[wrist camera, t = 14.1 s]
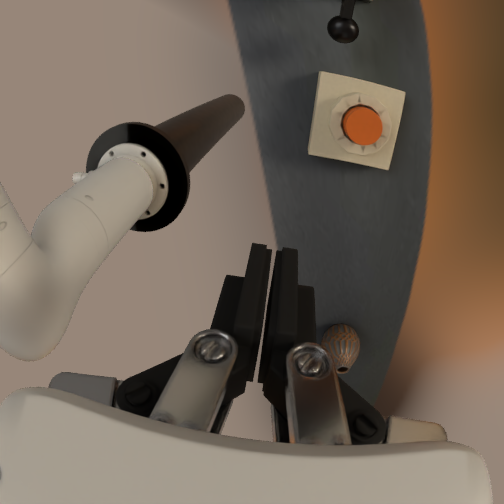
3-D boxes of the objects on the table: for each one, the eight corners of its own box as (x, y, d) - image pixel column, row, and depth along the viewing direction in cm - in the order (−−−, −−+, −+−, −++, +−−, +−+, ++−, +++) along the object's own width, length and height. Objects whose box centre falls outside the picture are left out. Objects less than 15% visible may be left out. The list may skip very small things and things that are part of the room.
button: (340, 137, 30) (342, 141, 28) (346, 103, 27) (349, 104, 26) (374, 145, 29) (378, 149, 28) (381, 111, 27) (386, 113, 26)
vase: (317, 341, 54) (318, 379, 47) (324, 316, 50) (327, 357, 43) (351, 342, 53) (356, 380, 46) (361, 319, 49) (368, 359, 42)
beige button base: (307, 149, 34) (309, 159, 31) (318, 71, 29) (322, 71, 25) (383, 164, 34) (392, 175, 31) (399, 90, 28) (411, 93, 25)
